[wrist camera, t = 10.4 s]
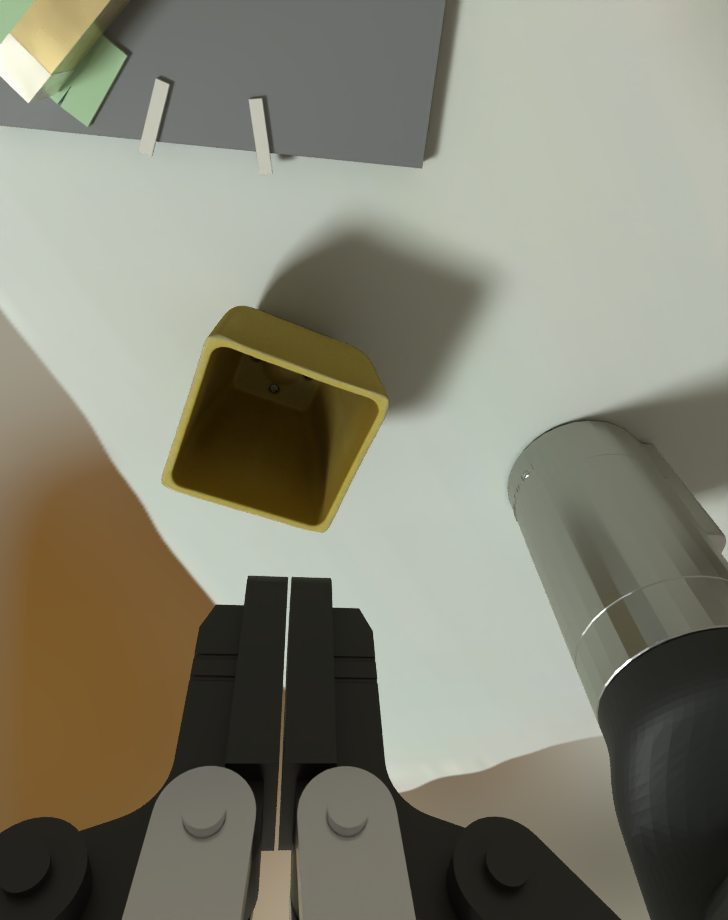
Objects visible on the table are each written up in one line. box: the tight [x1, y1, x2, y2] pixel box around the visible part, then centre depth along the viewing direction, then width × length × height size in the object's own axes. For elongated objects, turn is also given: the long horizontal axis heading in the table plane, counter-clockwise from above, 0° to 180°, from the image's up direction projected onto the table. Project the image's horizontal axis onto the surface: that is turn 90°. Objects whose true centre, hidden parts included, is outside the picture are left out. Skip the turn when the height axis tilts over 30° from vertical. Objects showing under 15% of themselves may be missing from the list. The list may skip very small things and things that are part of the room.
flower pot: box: [162, 306, 390, 533], centre depth 35 cm, size 9×9×9 cm
